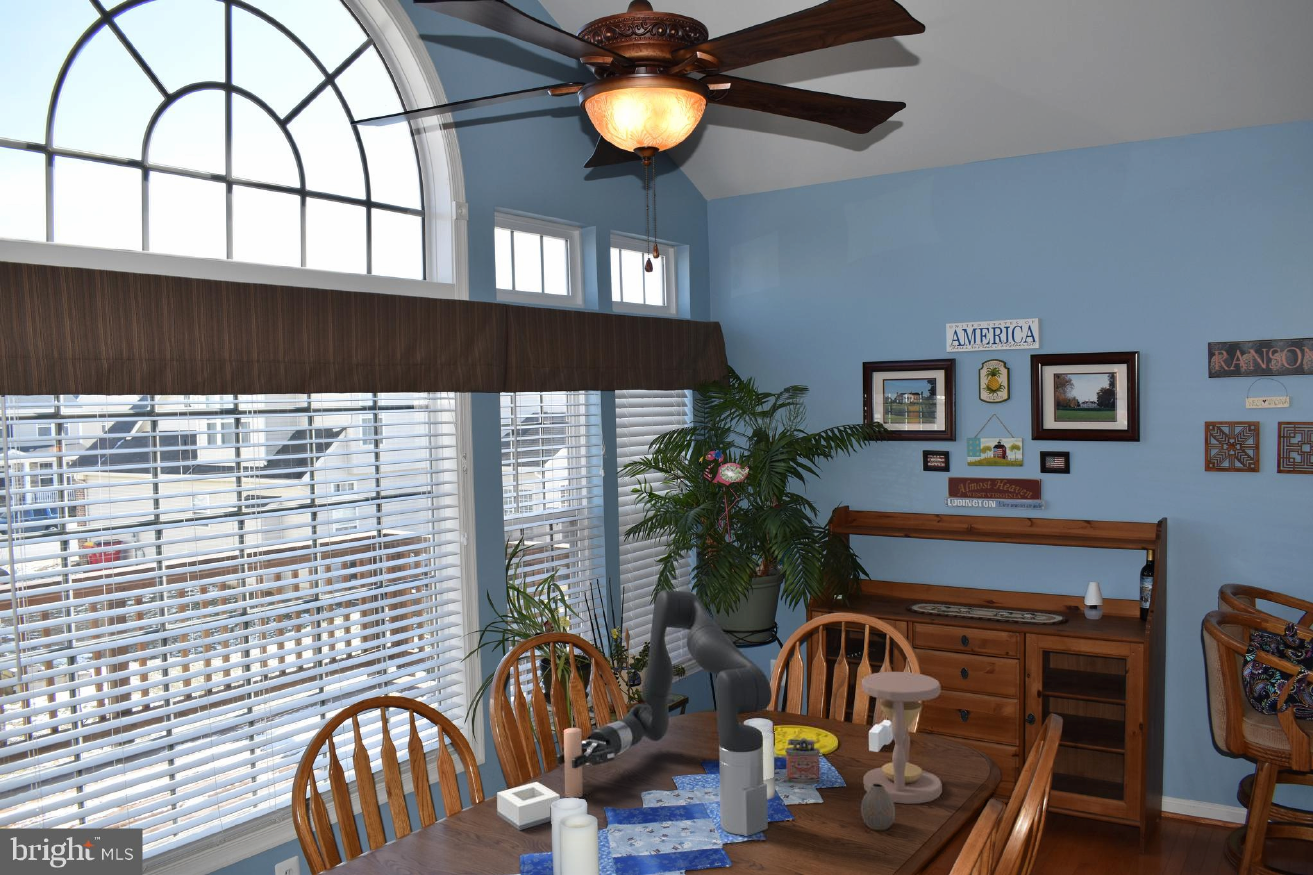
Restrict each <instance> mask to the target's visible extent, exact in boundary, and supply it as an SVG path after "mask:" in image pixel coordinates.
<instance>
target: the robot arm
mask: <svg viewBox="0 0 1313 875" xmlns="http://www.w3.org/2000/svg"><path fill="white" fill-rule="evenodd" d="M655 598H656V599H655V600H654V601H655V602H654V607H653V611H652V619H651V620H652V621H651V629H650V630H651V631H650V639H649V649H648V650H649V653H648V661H647V666H646V670H645V675H644V679H643V684H642V687H641V698H642V700H643V701H644V702H645V703H646V704H648V705H646V704H640V703H639V704H636V705H634V706H632V708H631V709H630V710H629V711H628V713H627V714H626V715H625V716H624V717H623V718H621V719H619V720H617V721H614V722H610V723H608V724H607V723H606V725H603V726H600V727H599V728H597V729H595V730H592V731H591V732H590V733H589V735H588V736H587V738H586V739H584V740H581V742H582V754H581V755H580V756H577V757H575V758H573V759H572V768H574V769H576V768H578V767H580V766H582V767H583V766H584V765H585V766H588V765H592V766H599V765H601V764H605V763H608V762H613V761H615V757H616V756H618V755H620V754H622V753H624V752H625V751H626V750H627V749H629V748H632V747H634V746H635V745H637V744H638V743H640V742H641V741H642V739H643V737H645V738H646V739H648V740H649V741H650V740H651V741H652V742H658V741H660V740H662V739H663V738H664V737H665V736H666V734H667V732H668V729H669V722H670V721H669V719H670V718H669V717H670V716H669V715H670V714H669V695H670V692H671V688H672V683H673V679H674V666H673V662H672V660H671V657H670V654H669V652H668V649H667V645H666V633H667V629H668V628H672V629H683V630H687V631H689V632H688V634H687V637H686V646H687V650H688V653H689V654H690V656H691V658H693V659H694V661H695V663H697V665H698V666H699V667H700V668H702V669H703V670H704V671H706V672H709V673H711V674H712V675H715V676H716V679H715V686H714V689H715V703H716V704H715V705H716V716H717V717H716V718H717V719H716V721H717V722H716V724H717V733H718V743H719V744H718V748H719V749H718V751H719V755H718V756H719V804H720V805H719V806H720V807H719V808H720V809H719V810H720V811H719V812H720V827H721V829H722V830H724V831H725V832H727V833H730V834H733V835H734V834H735V835H741V836H744V837H748V836H752V835H754V834H757V833H759V832H763V831H765V830H767V829H768V785H767V783H765V782H764V753H763V735H762V732H761V731H760V730H759V728H757V727H755V726H752V725H749V724H744V723H742V722H739V715H744V714H750V713H751V714H752V713H758V712H761V711H764V710H765V709H767V708H769V706H770V704H771V702H772V697H773V693H772V688H771V684H770V682H769V679H768V677H767V676H766V674H765V672H764V671H763V670H762V669H761V668H760V667H759V666H758V665H757V664H756V663H754V662H753V661H751V659H750V658H748V657H747V656H746V655H745V654H743V652H741V651H740V649H739V648H738V647H737V646H736V645H735V644H734V642H732V640H731V639H730V638H729V636H728V635H727V634H726V633H725V632H724V631H723V630H722V629H721V627H720V626H719V625H717V623H716V622H715V621H714V619H713V618H712V617H711V616H710V615H709V612H708V611H707V610H706V608H705V606H704V603H703V602H702V601H701V599H700V598H699V596H698V595H697V594H694V593H693V592H688V591H681V590H674V589H671V590H670V589H663V590H661V591H659V593H658V594H657V596H656V597H655ZM560 748H561V749H560V751H561V753H559V754H557V755H556V757H555V759H556V760H555V761H556V765H558V766H561V765H563V764H565V762H564V744H563V745H562V746H561V747H560Z"/></svg>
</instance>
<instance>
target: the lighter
mask: <svg viewBox="0 0 1313 875" xmlns="http://www.w3.org/2000/svg"><path fill="white" fill-rule="evenodd" d="M788 745H794V747H790V748H786V749H785V753H786V758H785V759H786V760H785V761H786V762H785V764H786V771H785V772H786V776H785V782H787V783H789V784H808V785H810V784H820V783H821V776H820V756H819V754H820V750H819V749H818V748H814V740H807V739H806V738H802V739H801V740H798V739H789V740H788ZM797 746H799V747H797ZM809 746H810V747H811V748H810V747H809Z"/></svg>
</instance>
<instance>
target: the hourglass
mask: <svg viewBox="0 0 1313 875" xmlns="http://www.w3.org/2000/svg"><path fill="white" fill-rule="evenodd" d="M941 687H942V686H941V684H940V681H939V680H937V679H936V678H934V677H932V676H928V675H925V674H921V673H917V672H916V673H915V672H909V671H908V672H905V671H883V672H882V671H880V672H874V673H870V674H867V675H866V676H864V677H863V678H862V679H861V689H862V691H863V692H864V693H865V694H866V695H867V696H870V697H873V698H877V699H880V700H881V701H880V702H879V704H880V707H881V710H882V712H883V713H884V715H885V716H886V717H887V720H890V722H891V723H892V733H893V740H894V748H893V751H892V757H891V758H892V760H891V762H888V763H886V764H883V765H882V767H877V768H873V769H871V770H868V771H867V772H866V773H865V774H864V776H863V788H864V790H865V791H866V793H867V792H868V791H869V789H870V788H871V786H872V784H874V783H880V784H882V785H883V786H884V788H885V790H886V791H887V792H888V794H889V795H890V796H891V798H892V800H893V802H894V804H895V803H896V804H905V805H907V804H908V805H909V804H913V805H914V804H923V803H928V802H932V801H934V800H936V799H939V798H940V795H941V794H942V793H943V784H942V781H941V779H940V778H939V777H937V776H936V775H935V774H933V773H932V772H928V771H926V770H923V769H922V768H921V767H920V766H918V765H915V764H913V763H910V749H911V748H910V746H911V737H910V734H909V730H908V729H909V727H910V726H911V725H912V724H913V722H914V720H916V718H917V716H918V715H919V714H920V712H921V711H922V708H923V704H922V703H921V702H922V701H930V700H932V699H936V698H937V697H939V695H940V694H941V692H942V691H941V690H942V689H941Z"/></svg>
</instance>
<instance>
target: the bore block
mask: <svg viewBox="0 0 1313 875" xmlns="http://www.w3.org/2000/svg"><path fill="white" fill-rule="evenodd" d="M560 798H561V797H560V794H558V793H557V792H555V791H554V790H552V789H551V788H548V787H547V786H545V785H543V784H542V783H539V781H534V782H530V783H526V784H523V785H520V786H516V787H513V788H510V789H505V790H502V791H499V792H496V801H497V803H496V806H497V808H496V810H497V812H496V813H497V816H498V817H500V819H502V820H504V821H505V822H506V823H508V824H509V825H511V826H512V827H513V828H515V829H516V830H518V831H521V830H525V829H528V828H532V827H535V826H539V825H542V824H545V823H548V822H551V818H550V807H551V804H552V802H554V801H557V800H559V799H560ZM560 800H561V799H560Z"/></svg>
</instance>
